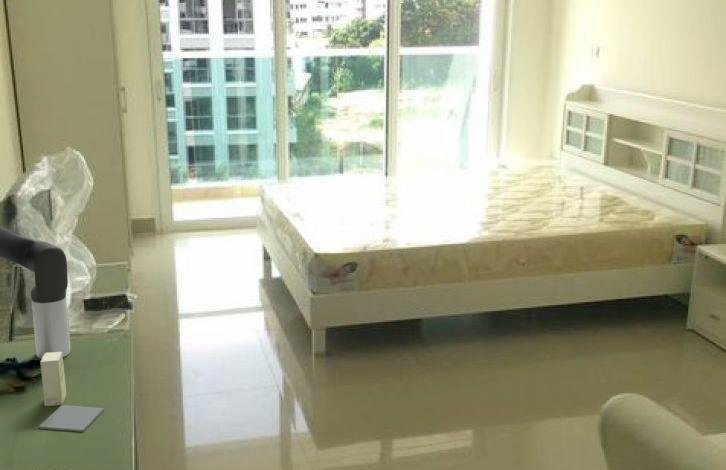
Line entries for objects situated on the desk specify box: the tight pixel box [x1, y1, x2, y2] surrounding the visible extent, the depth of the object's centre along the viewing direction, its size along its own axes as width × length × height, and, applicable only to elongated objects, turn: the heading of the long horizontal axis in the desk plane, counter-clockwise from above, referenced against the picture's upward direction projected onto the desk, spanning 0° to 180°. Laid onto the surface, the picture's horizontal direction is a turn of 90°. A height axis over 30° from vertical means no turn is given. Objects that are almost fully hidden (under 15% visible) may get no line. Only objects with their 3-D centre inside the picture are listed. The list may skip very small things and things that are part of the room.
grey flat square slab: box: [38, 404, 105, 433], centre depth 182 cm, size 11×11×1 cm
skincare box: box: [39, 352, 67, 407], centre depth 189 cm, size 6×4×12 cm
